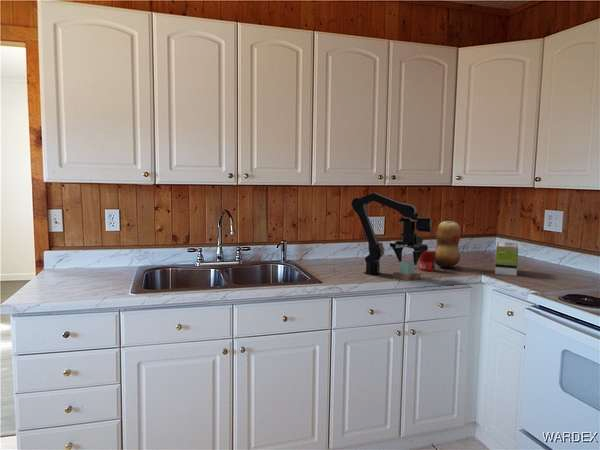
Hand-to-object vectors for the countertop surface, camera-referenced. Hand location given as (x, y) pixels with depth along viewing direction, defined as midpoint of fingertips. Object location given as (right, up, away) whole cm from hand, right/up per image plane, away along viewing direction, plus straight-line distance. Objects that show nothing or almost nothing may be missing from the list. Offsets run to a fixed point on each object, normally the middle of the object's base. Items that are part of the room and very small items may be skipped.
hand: (407, 263), depth 198 cm
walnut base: (0, -7, +1) cm, 7 cm away
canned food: (+15, -5, +18) cm, 24 cm away
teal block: (0, -5, +1) cm, 5 cm away
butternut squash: (+27, -5, +24) cm, 37 cm away
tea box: (+54, -6, +14) cm, 56 cm away
